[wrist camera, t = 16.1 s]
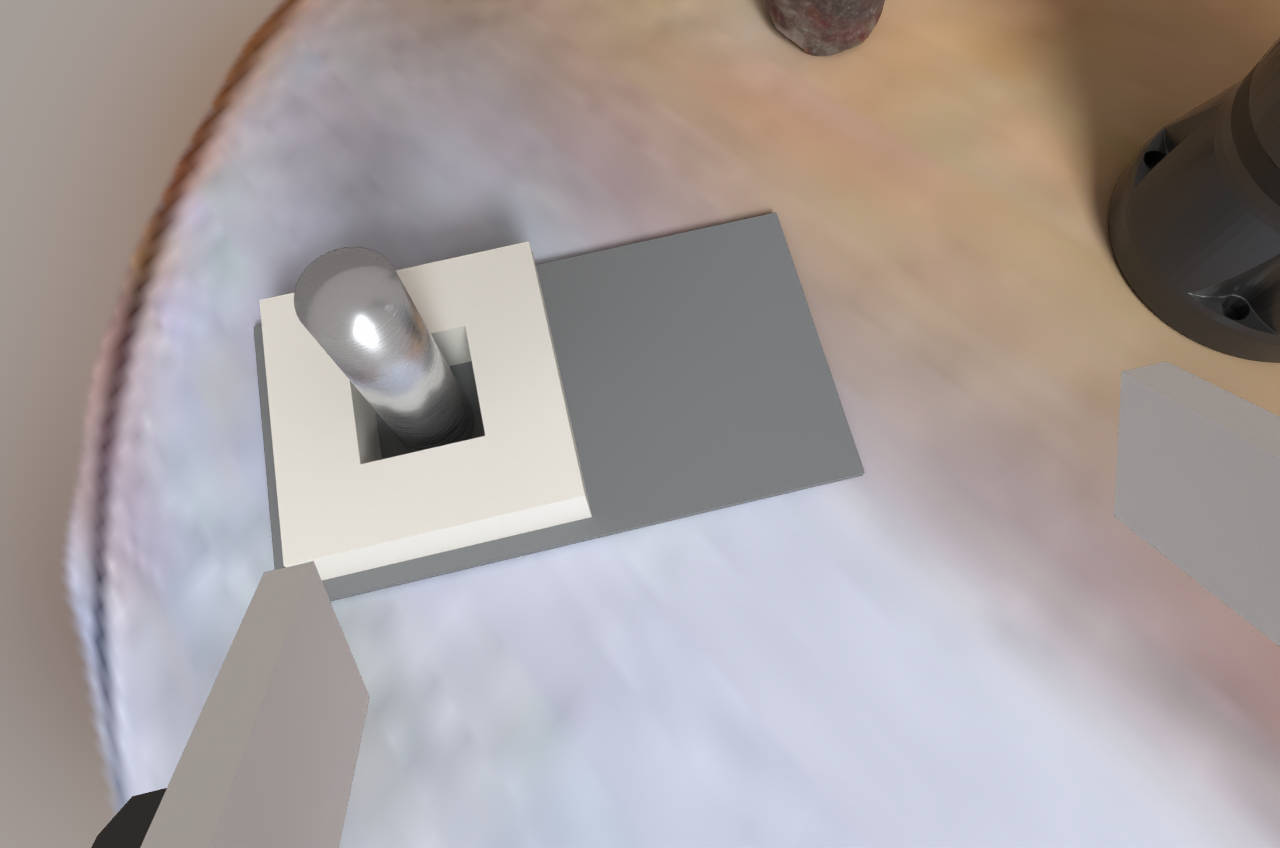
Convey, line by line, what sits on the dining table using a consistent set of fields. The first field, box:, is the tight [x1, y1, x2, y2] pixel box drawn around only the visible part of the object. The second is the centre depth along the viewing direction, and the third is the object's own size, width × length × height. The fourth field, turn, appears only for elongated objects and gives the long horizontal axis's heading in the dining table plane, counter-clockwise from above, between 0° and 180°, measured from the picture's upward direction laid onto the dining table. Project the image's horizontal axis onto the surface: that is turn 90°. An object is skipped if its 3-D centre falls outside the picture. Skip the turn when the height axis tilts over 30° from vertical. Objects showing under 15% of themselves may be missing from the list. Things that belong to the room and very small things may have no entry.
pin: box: [294, 247, 474, 452], centre depth 40 cm, size 4×4×14 cm
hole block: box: [259, 241, 592, 580], centre depth 44 cm, size 14×14×4 cm
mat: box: [254, 212, 864, 601], centre depth 47 cm, size 30×16×1 cm, turn 103°
